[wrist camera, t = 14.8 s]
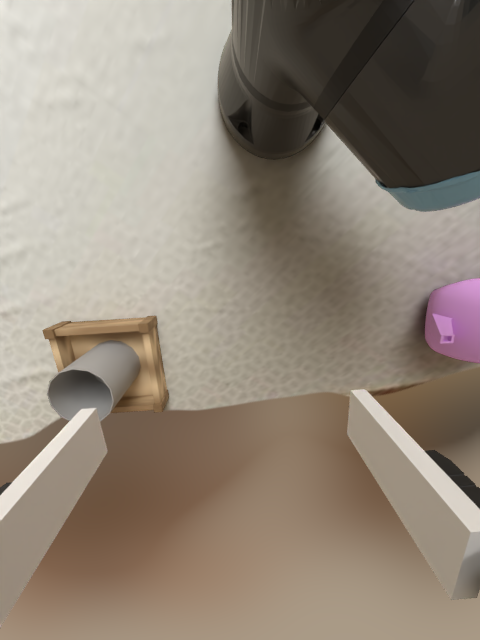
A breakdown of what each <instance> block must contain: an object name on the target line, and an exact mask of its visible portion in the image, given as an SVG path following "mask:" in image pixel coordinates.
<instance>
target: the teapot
mask: <svg viewBox="0 0 480 640" xmlns="http://www.w3.org/2000/svg"><path fill="white" fill-rule="evenodd" d="M425 340H426V342H427V344H428V345H429V346H430V348H431V349H433V350H434V351H436V352H438V353H440V354H443V355H446V356H449V357H452V358H455V359H459V360H463V361H469V362H474V363H480V278H476V279H469V280H464V281H460V282H456V283H453V284H449V285H446V286H443V287H441V288H439V289H436V290H434V291H433V292H432V293H431V295H430V298H429V302H428V307H427V313H426V322H425Z"/></svg>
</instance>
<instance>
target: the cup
mask: <svg viewBox="0 0 480 640" xmlns="http://www.w3.org/2000/svg"><path fill="white" fill-rule="evenodd" d="M140 367H141V366H140V360H139V356H138V355H137V354H136V352H135V351H134V349H133V348H132V347H130V346H128V345H127V344H125V343H123V342H121V341H113V340H109V341H105V342H102V343H99V344H98V345H96V346H95V347H94V348H92V349H91V350H89V351H88V352H87V353H85V354H84V355H82V356H81V357H80V358H78V359H77V360H75V361H74V362H73V363H71V364H70V365H68V366H67V367H66V368H64V369H63V370H61V371H60V372H59V373H58V374H57V375H56V376H55V377H54V378H53V379H52V380H51V381H50V382H49V386H48V390H47V396H48V399H49V402H50V405H51V407H52V408H53V409H54V410H55V411H56V412H57V413H58V414H59V416H60V417H62V418H64V419H67V420H68V421H71V419H72V418H73V417H74V416H75V415H76V414H77V413H78V412H79V411H80V410H81V409H89V408H97V412H98V416H99V420H100V421H102V420H103V419H104V418H105V417H106V416H107V415H109V414H110V413H111V411H112V410H113V409H114V407H115V406H116V404H117V403H118V402H119V400H120V399H121V398H122V396H123V395H124V394H125V392H126V391H127V390H128V388H129V387H130V385H131V384H132V383H133V381H134V380H135V379H136V377H137V376H138V373H139V370H140Z"/></svg>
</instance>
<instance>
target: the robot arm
mask: <svg viewBox="0 0 480 640" xmlns="http://www.w3.org/2000/svg"><path fill="white" fill-rule="evenodd" d="M218 95H219V104H220V109H221V113H222V117H223V119H224V122H225V124H226V126H227V128H228V130H229V132H230V133H231V135H232V136H233V138H234V139H235V140H236V141H237V142H238V143H239V144H240V145H241V146H242V147H243V148H244V149H246V150H247V151H249V152H250V153H252V154H254V155H256V156H259V157H263V158H268V159H280V158H285V157H289V156H292V155H294V154H296V153H298V152H300V151H301V150H303V149H304V148H305V147H306V146H308V145H309V144H310V143H311V142H312V141H313V140H314V138H315V137H316V136H317V134H318V133H319V132H320V130H321V129H322V128H323V126H324V125H325V123H326V124H327V125H328V126H329V127H330V128H331V129H332V130H333V132H334V133H335V134H336V135H337V136H338V137H339V138H340V139H341V141H342V142H343V143H344V144H345V145H346V146H347V147H348V148H349V150H350V151H351V152H352V153H353V154H354V155H355V156H356V157H357V159H358V160H359V161H360V162H361V163H362V164H363V165H364V166H365V168H366V169H367V170H368V171H369V172H370V173H371V174H372V175H373V177H374V178H375V179H376V183H377V184H378V186H379V187H380V188H382V189H384V190H386V191H388V192H389V193H390V194H391V195H392V196H393V197H394V198H395V199H396V200H397V201H398V202H399V203H400V204H401V205H402V206H404V207H406V208H408V209H414V210H416V211H423V212H427V211H437V210H443V209H448V208H452V207H456V206H459V205H462V204H465V203H468V202H471V201H473V200H476V199H479V198H480V0H232V30H231V32H230V34H229V37H228V39H227V42H226V44H225V46H224V49H223V52H222V55H221V59H220V64H219V71H218ZM347 434H348V436H349V438H350V439H351V441H352V443H353V444H354V446H355V447H356V449H357V451H358V452H359V454H360V455H361V457H362V459H363V460H364V462H365V463H366V465H367V466H368V468H369V470H370V471H371V473H372V474H373V476H374V478H375V479H376V481H377V483H378V484H379V486H380V487H381V489H382V490H383V492H384V494H385V495H386V497H387V499H388V500H389V502H390V503H391V505H392V507H393V508H394V510H395V511H396V513H397V515H398V516H399V518H400V519H401V521H402V522H403V524H404V526H405V527H406V529H407V530H408V532H409V534H410V535H411V537H412V538H413V540H414V541H415V543H416V545H417V546H418V548H419V550H420V551H421V553H422V554H423V556H424V558H425V559H426V561H427V562H428V564H429V566H430V567H431V569H432V570H433V572H434V573H435V575H436V577H437V578H438V580H439V581H440V583H441V585H442V586H443V588H444V590H445V591H446V593H447V594H448V596H449V597H450V599H451V600H455V599H467V598H477V596H478V593H479V590H480V488H479V487H476V485H475V483H473V482H472V481H471V480H470V479H469V478H468V477H467V476H465V475H464V473H463V472H462V471H461V470H460V469H459V468H458V467H457V466H456V465H455V464H454V463H453V462H452V461H451V460H449V459H448V458H446V457H444V456H443V455H441V454H440V453H438V452H437V451H435V450H429V451H424V450H423V449H422V448H421V447H420V446H419V445H418V444H417V443H416V442H415V441H414V440H413V439H412V438H411V437H410V436H409V435H408V434H407V433H406V431H404V429H403V428H401V426H400V425H399V424H398V423H397V422H396V421H395V420H394V419H393V418H392V417H391V416H390V415H389V414H388V413H387V412H386V411H385V410H384V408H383V407H382V406H381V405H380V404H379V403H378V402H377V401H376V400H375V399H374V398H373V397H372V396H371V395H370V394H369V393H368V392H367V391H366V390H365V389H361V390H351V391H350V405H349V416H348V429H347ZM106 453H107V447H106V443H105V439H104V435H103V431H102V428H101V424H100V420H99V416H98V412H97V408H89V409H81V410H80V411H79V412H78V413H77V414H76V415H75V416H74V417H73V418H72V419H71V421H70V422H69V423H68V424H67V425H66V426H65V427H64V428H63V429H62V430H61V431H60V432H59V434H57V435H56V437H55V438H54V439H53V440H52V441H51V442H50V443H49V444H48V445H47V446H46V447H45V448H44V450H42V451H41V453H40V454H39V455H38V456H37V457H36V458H35V459H34V460H33V461H32V462H31V463H30V464H29V465H28V467H27V468H26V469H25V470H24V471H23V472H22V473H21V474H20V475H19V476H18V477H17V478H16V479H15V480H14V482H11V483H6V484H5V485H3V486H2V487H0V627H1V626H2V624H3V622H4V621H5V619H6V617H7V616H8V614H9V612H10V611H11V609H12V608H13V606H14V604H15V603H16V601H17V599H18V598H19V596H20V594H21V593H22V591H23V589H24V588H25V586H26V585H27V583H28V581H29V580H30V578H31V576H32V574H33V573H34V571H35V570H36V568H37V567H38V565H39V563H40V562H41V560H42V558H43V557H44V555H45V553H46V551H47V550H48V548H49V547H50V545H51V544H52V542H53V540H54V539H55V537H56V535H57V533H58V532H59V530H60V529H61V527H62V526H63V524H64V522H65V521H66V519H67V517H68V516H69V514H70V512H71V511H72V509H73V508H74V506H75V504H76V502H77V501H78V499H79V498H80V496H81V494H82V493H83V491H84V489H85V488H86V486H87V484H88V483H89V481H90V479H91V478H92V476H93V475H94V473H95V471H96V469H97V468H98V467H99V465H100V463H101V461H102V460H103V458H104V456H105V455H106Z"/></svg>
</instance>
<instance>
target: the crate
mask: <svg viewBox="0 0 480 640" xmlns="http://www.w3.org/2000/svg"><path fill="white" fill-rule="evenodd" d="M43 334H44V337H45V339H49V342H50V345H51V348H52V352H53V355H54V359H55V362H56V365H57V369H58V372H60V371H61V370H63V369H64V368H66V367H67V366H68V365H70V364H71V363H73V362H74V361H75V360H77V359H78V358H80V357H81V356H82V355H84V354H85V353H87V352H88V351H89V350H91V349H92V348H94V347H95V346H96V345H98V344H99V343H102V342H105V341H109V340H113V341H121V342H123V343H125V344H127V345H128V346H130V347H132V348H133V349H134V351H135V352H136V354H137V355H138V356H139V360H140V366H141V367H140V370H139V373H138V376H137V377H136V379H135V380H134V381H133V383H132V384H131V385H130V387H129V388H128V390H127V391H126V392H125V394H124V395H123V396H122V398H121V399H120V400H119V402H118V403H117V404H116V406H115V407H114V409H113V410H112V411H111V413H117V412H132V411H146V410H154V412H163V410H164V407H165V405H166V402H167V400H168V398H169V393H168V390H167V388H166V382H165V375H164V369H163V363H162V357H161V350H160V344H159V338H158V332H157V318H156V316H147V317H146V318H131V319H115V320H99V321H84V322H71V321H65V322H60V323H58V324H56V325H53V326H51V327H49V328H46V329H44V330H43Z"/></svg>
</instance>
